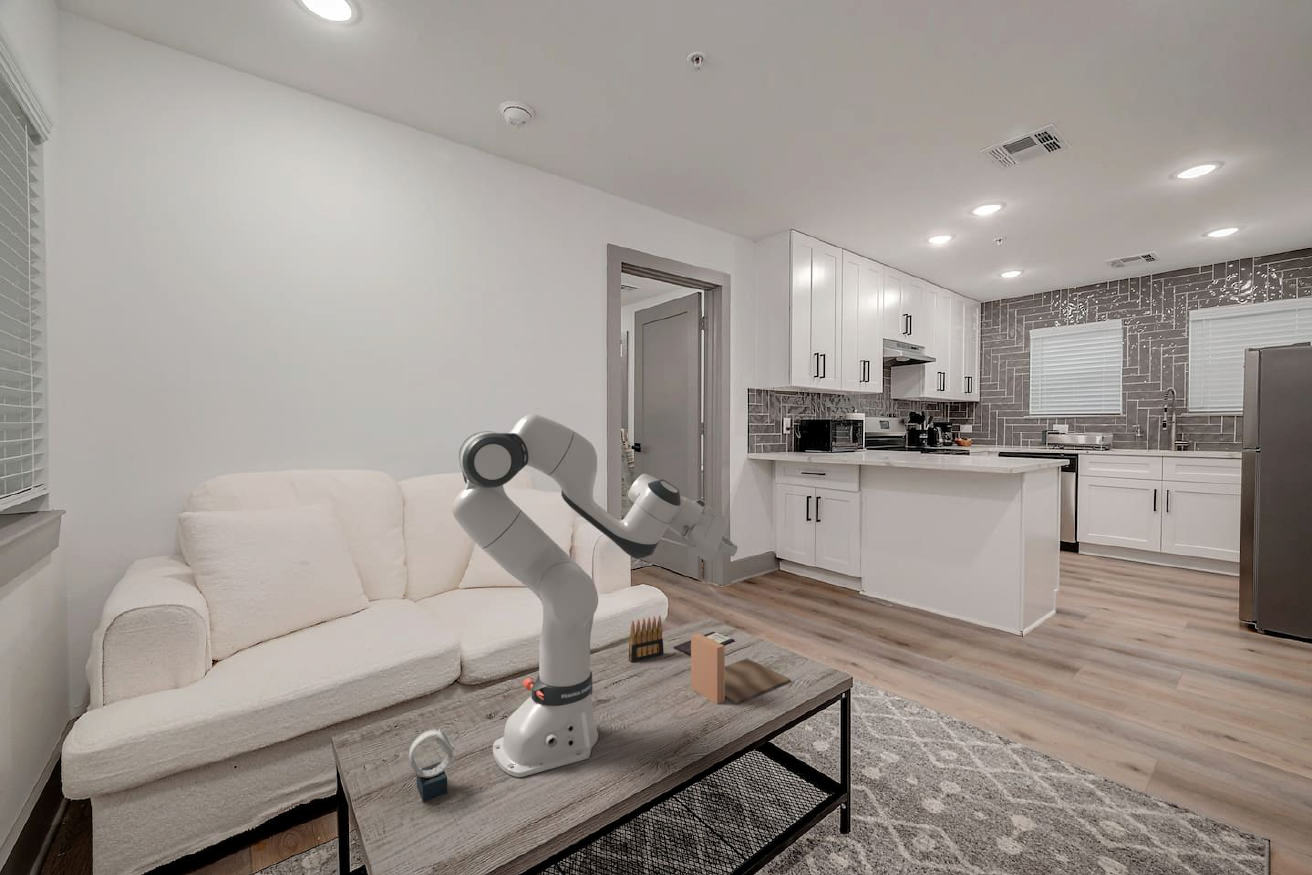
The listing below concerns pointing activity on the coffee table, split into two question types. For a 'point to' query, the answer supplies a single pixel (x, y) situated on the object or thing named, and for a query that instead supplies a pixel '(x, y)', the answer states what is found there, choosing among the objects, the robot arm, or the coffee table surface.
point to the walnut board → (749, 680)
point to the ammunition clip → (646, 640)
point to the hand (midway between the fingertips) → (735, 551)
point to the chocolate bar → (713, 636)
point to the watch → (432, 767)
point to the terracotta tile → (708, 668)
